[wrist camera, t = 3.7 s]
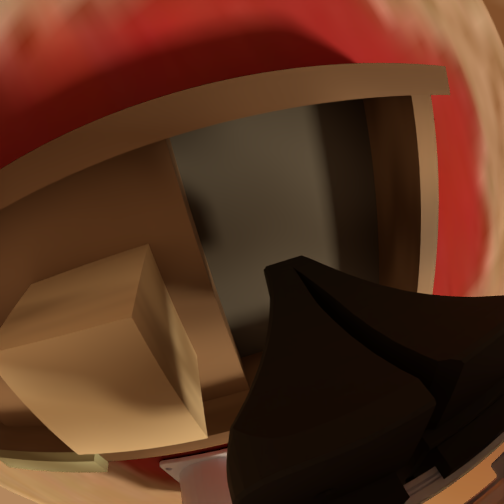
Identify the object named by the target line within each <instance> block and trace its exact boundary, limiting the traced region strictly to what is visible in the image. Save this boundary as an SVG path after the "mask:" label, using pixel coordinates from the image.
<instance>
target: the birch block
mask: <svg viewBox="0 0 504 504" xmlns="http://www.w3.org/2000/svg"><path fill="white" fill-rule="evenodd" d="M0 376H1V377H2V379H3V380H4V381H5V382H6V383H7V385H8V386H9V387H10V388H11V389H12V391H13V392H14V393H15V394H16V395H17V396H18V397H19V398H20V400H21V401H22V402H23V403H24V404H25V405H26V406H27V407H28V408H29V409H30V410H31V411H32V412H33V414H34V415H35V416H36V417H37V418H38V419H39V420H40V421H41V422H42V423H43V424H44V425H46V426H47V427H48V428H49V429H50V430H51V431H52V432H53V433H54V434H55V435H56V436H57V437H58V438H59V439H61V440H62V441H63V442H64V443H65V444H66V445H67V446H69V447H70V448H71V449H72V450H73V451H74V452H76V453H77V454H78V455H83V454H102V453H115V452H126V451H135V450H143V449H150V448H157V447H164V446H170V445H176V444H181V443H187V442H192V441H197V440H201V439H206V438H208V436H207V429H206V423H205V416H204V409H203V402H202V394H201V387H200V379H199V370H198V362H197V355H196V353H195V351H194V348H193V346H192V344H191V342H190V340H189V338H188V336H187V334H186V332H185V329H184V327H183V325H182V323H181V321H180V318H179V316H178V314H177V312H176V309H175V307H174V305H173V303H172V300H171V298H170V296H169V293H168V291H167V289H166V286H165V284H164V282H163V279H162V277H161V274H160V272H159V269H158V267H157V264H156V262H155V259H154V257H153V254H152V252H151V249H150V247H149V244H146V245H143V246H140V247H137V248H134V249H131V250H127V251H124V252H121V253H118V254H115V255H113V256H110V257H107V258H104V259H101V260H98V261H95V262H92V263H89V264H86V265H83V266H81V267H78V268H75V269H72V270H69V271H66V272H64V273H61V274H58V275H55V276H53V277H50V278H47V279H44V280H42V281H39V282H36V283H34V284H31V285H30V287H29V288H28V289H27V291H26V292H25V293H24V295H23V296H22V297H21V299H20V300H19V302H18V303H17V304H16V306H15V307H14V309H13V310H12V312H11V313H10V314H9V316H8V317H7V319H6V320H5V322H4V323H3V325H2V326H1V328H0Z"/></svg>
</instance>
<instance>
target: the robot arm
mask: <svg viewBox="0 0 504 504" xmlns="http://www.w3.org/2000/svg"><path fill="white" fill-rule="evenodd" d="M263 271H264V275H265V279H266V283H267V288H268V292H269V296H270V311H269V323H268V330H267V336H266V341H265V345H264V349H263V353H262V357H261V360H260V364H259V367H258V370H257V372H256V375H255V377H254V380H253V382H252V385H251V388H250V390H249V393H248V395H247V397H246V399H245V401H244V403H243V405H242V407H241V409H240V411H239V412H238V414H237V416H236V418H235V420H234V422H233V424H232V425H231V427H230V432H229V439H228V447H227V448H226V449H221V450H217V451H213V452H208V453H203V454H198V455H193V456H187V457H181V458H175V459H169V460H163V461H160V463H159V465H160V467H161V468H162V469H163V470H164V471H166V472H167V473H168V474H169V475H170V476H172V477H173V478H174V479H175V480H177V481H178V482H179V483H180V488H181V497H182V504H423V503H424V502H425V501H427V500H429V499H431V498H432V497H434V496H435V495H437V494H438V493H440V492H441V491H443V490H444V489H446V488H447V487H449V486H450V485H452V484H453V483H454V482H456V481H457V480H458V479H460V478H461V477H463V476H464V475H465V474H467V473H468V472H469V471H470V470H472V469H473V468H474V467H476V466H477V465H478V464H479V463H480V462H482V461H483V460H484V459H485V458H486V457H488V456H489V455H490V454H491V453H492V452H493V451H495V450H496V449H497V448H498V447H499V446H500V445H501V444H502V443H503V442H504V295H503V296H485V297H455V296H440V295H431V294H424V293H417V292H411V291H405V290H400V289H396V288H392V287H388V286H383V285H380V284H376V283H373V282H370V281H367V280H364V279H361V278H358V277H355V276H352V275H349V274H347V273H344V272H341V271H339V270H336V269H334V268H332V267H329V266H327V265H324V264H322V263H320V262H317V261H315V260H313V259H310V258H308V257H305V256H302V255H301V256H298V257H294V258H291V259H288V260H285V261H282V262H278V263H275V264H272V265H269V266H266V267H265V269H264V270H263ZM491 467H492V468H493V470H494V471H495V473H496V474H497V477H496V478H495V479H494V480H493V481H492V482H491V483H489V484H488V485H487V486H486V487H485V488H483V489H482V490H481V491H480V492H479V493H477V494H476V495H475V496H473V497H472V498H471V499H470V500H468V501H467V502H466V503H464V504H504V452H503V453H502V454H501V455H500V457H498V458H497V459H496V460H495V461H494V462H493V463H492V465H491Z"/></svg>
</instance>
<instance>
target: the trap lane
mask: <svg viewBox="0 0 504 504" xmlns="http://www.w3.org/2000/svg"><path fill="white" fill-rule="evenodd" d="M431 95H450V90H449V84H448V78H447V73H446V67H445V66H436V65H423V64H403V63H356V64H336V65H322V66H311V67H301V68H293V69H285V70H278V71H271V72H265V73H259V74H253V75H247V76H242V77H237V78H232V79H227V80H223V81H218V82H214V83H210V84H206V85H202V86H198V87H194V88H190V89H186V90H183V91H179V92H176V93H172V94H169V95H165V96H162V97H159V98H156V99H153V100H150V101H147V102H144V103H141V104H138V105H135V106H132V107H129V108H126V109H124V110H121V111H118V112H116V113H113V114H111V115H108V116H106V117H103V118H101V119H98V120H96V121H93V122H91V123H89V124H86V125H84V126H82V127H79V128H77V129H75V130H73V131H71V132H69V133H66V134H64V135H62V136H60V137H58V138H56V139H54V140H52V141H50V142H48V143H46V144H44V145H42V146H40V147H38V148H37V149H35V150H33V151H31V152H29V153H27V154H26V155H24V156H22V157H20V158H19V159H17V160H15V161H13V162H12V163H10V164H8V165H7V166H5V167H3V168H2V169H0V328H1V326H2V325H3V323H4V322H5V320H6V319H7V317H8V316H9V314H10V313H11V312H12V310H13V309H14V307H15V306H16V304H17V303H18V302H19V300H20V299H21V297H22V296H23V295H24V293H25V292H26V291H27V289H28V288H29V287H30V285H31V284H34V283H36V282H39V281H42V280H44V279H47V278H50V277H53V276H55V275H58V274H61V273H64V272H66V271H69V270H72V269H75V268H78V267H81V266H83V265H86V264H89V263H92V262H95V261H98V260H101V259H104V258H107V257H110V256H113V255H115V254H118V253H121V252H124V251H127V250H131V249H134V248H137V247H140V246H143V245H146V244H149V247H150V249H151V252H152V254H153V257H154V259H155V262H156V264H157V267H158V269H159V272H160V274H161V277H162V279H163V282H164V284H165V286H166V289H167V291H168V293H169V296H170V298H171V300H172V303H173V305H174V307H175V309H176V312H177V314H178V316H179V318H180V321H181V323H182V325H183V327H184V329H185V332H186V334H187V336H188V338H189V340H190V342H191V344H192V346H193V348H194V351H195V353H196V355H197V362H198V370H199V379H200V387H201V394H202V402H203V409H204V416H205V423H206V429H207V436H208V438H206V439H201V440H197V441H192V442H187V443H181V444H176V445H170V446H164V447H157V448H150V449H143V450H135V451H126V452H115V453H102V454H83V455H78V454H77V453H76V452H74V451H73V450H72V449H71V448H70V447H69V446H67V445H66V444H65V443H64V442H63V441H62V440H61V439H59V438H58V437H57V436H56V435H55V434H54V433H53V432H52V431H51V430H50V429H49V428H48V427H47V426H46V425H44V424H43V423H42V422H41V421H40V420H39V419H38V418H37V417H36V416H35V415H34V414H33V412H32V411H31V410H30V409H29V408H28V407H27V406H26V405H25V404H24V403H23V402H22V401H21V400H20V398H19V397H18V396H17V395H16V394H15V393H14V392H13V391H12V389H11V388H10V387H9V386H8V385H7V383H6V382H5V381H4V380H3V379H2V377H1V376H0V460H1V461H2V462H3V463H4V464H6V465H7V466H8V467H11V468H19V469H27V470H38V471H51V472H108V462H107V461H121V460H132V459H142V458H150V457H157V456H164V455H171V454H177V453H183V452H188V451H194V450H199V449H204V448H208V447H213V446H217V445H222V444H226V443H228V439H229V432H230V427H231V425H232V424H233V422H234V420H235V418H236V416H237V414H238V412H239V411H240V409H241V407H242V405H243V403H244V401H245V399H246V397H247V395H248V393H249V390H250V388H251V385H252V382H253V380H254V377H255V375H256V372H257V370H258V367H259V364H260V360H261V357H262V353H263V349H264V345H265V341H266V336H267V330H268V323H269V311H270V296H269V292H268V288H267V283H266V279H265V275H264V271H263V270H264V269H265V267H266V266H269V265H272V264H275V263H278V262H282V261H285V260H288V259H291V258H294V257H298V256H301V255H302V256H305V257H308V258H310V259H313V260H315V261H317V262H320V263H322V264H324V265H327V266H329V267H332V268H334V269H336V270H339V271H341V272H344V273H347V274H349V275H352V276H355V277H358V278H361V279H364V280H367V281H370V282H373V283H376V284H380V285H383V286H388V287H392V288H396V289H400V290H405V291H411V292H417V293H424V294H431V295H432V292H433V284H434V275H435V265H436V253H437V238H438V207H439V191H438V161H437V146H436V134H435V124H434V116H433V108H432V101H431Z"/></svg>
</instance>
